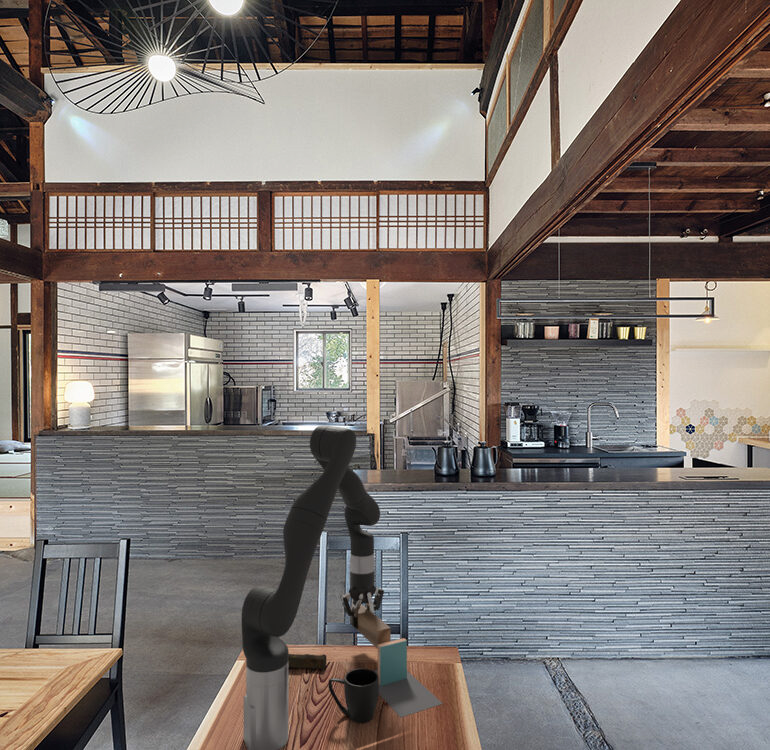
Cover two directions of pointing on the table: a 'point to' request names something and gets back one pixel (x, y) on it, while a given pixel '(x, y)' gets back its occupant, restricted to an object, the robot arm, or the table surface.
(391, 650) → the tile
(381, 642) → the tan wooden bar
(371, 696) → the mug
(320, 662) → the hand tool
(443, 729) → the table surface
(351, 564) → the robot arm
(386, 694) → the rubber mat
